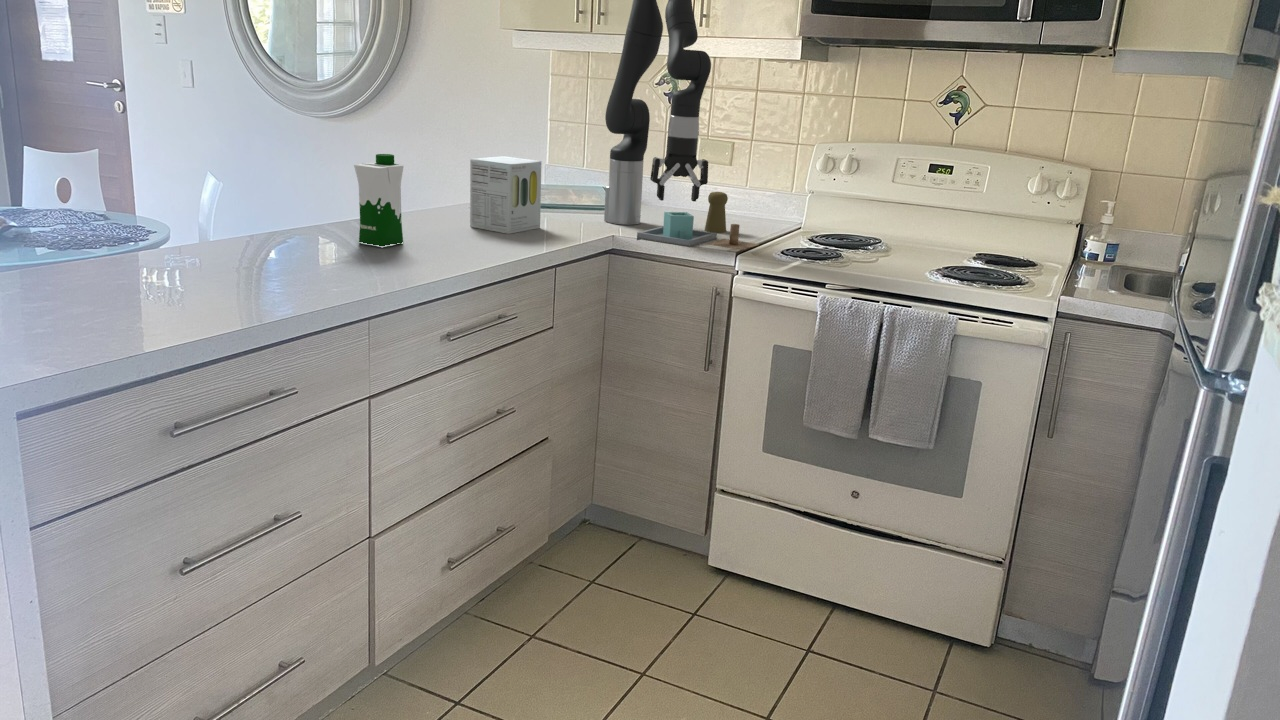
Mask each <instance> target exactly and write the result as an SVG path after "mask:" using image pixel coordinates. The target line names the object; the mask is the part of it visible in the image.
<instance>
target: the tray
mask: <svg viewBox="0 0 1280 720" xmlns="http://www.w3.org/2000/svg"><path fill="white" fill-rule="evenodd" d="M663 226H664V225H663ZM663 226H658V227H655V228H650V229H646V230H643V231H642V230H641V231H639V232H637V233H636V241H640V240H645V241H652V242H658V243H664V244H670V245H676V246H682V247H689V248H690V247H694V246H696V245H700V244H703V243H707V242H710V241H711V242H712V241H713V240H714V241H715V240H717V238H718V233H712V232H707V231H705V230H698V229H693V234H692V239H689V240H686V239H680V238H673V237H667V236H663Z"/></svg>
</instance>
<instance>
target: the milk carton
mask: <svg viewBox="0 0 1280 720" xmlns="http://www.w3.org/2000/svg"><path fill="white" fill-rule="evenodd" d="M353 166H354V170H355V175H356V178H357V183H358V202H359V203H358V204H359V233H358V234H359V237H358V243H359V242H363V243H367V244H373V245H379V246H385V245H390V244H397V243H402V242H403V243H404V236H403V235H404V234H403V233H404V232H403V224H402V192H401V191H402V188H401V186H402V178H403V172H404V165H402V164H400V163H399V164H397V163H395V154H391V153H390V154H389V153H377V154H375V162H363V163H361V164H359V163H357V164H353Z"/></svg>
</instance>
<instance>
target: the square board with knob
mask: <svg viewBox="0 0 1280 720" xmlns="http://www.w3.org/2000/svg"><path fill="white" fill-rule="evenodd" d="M740 226H741V225H740V224H738V223H730V228H729V229H730V230H729V238H722V239H719V240H716V241H715V240H714V241H711V242H709V243H707V245H710V246H717V247H722V248H730V249H736V250H740V251H742V250H743V251H745V250H747V249H750V248H753V247H756V246H759V245H760V243H753V242H748V241H741V240H739V235H740Z"/></svg>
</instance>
